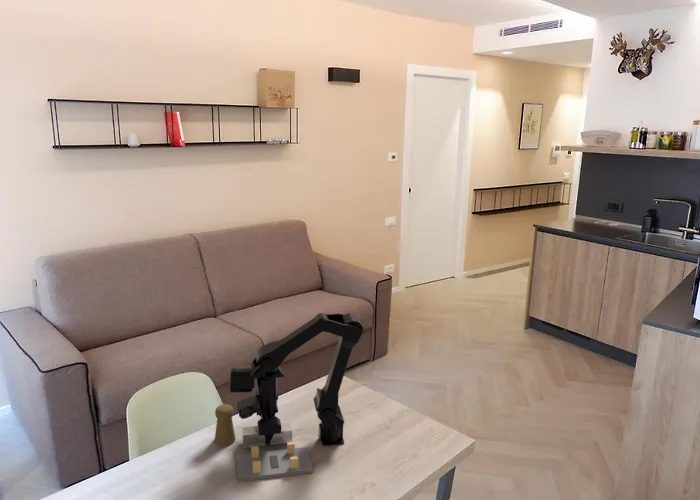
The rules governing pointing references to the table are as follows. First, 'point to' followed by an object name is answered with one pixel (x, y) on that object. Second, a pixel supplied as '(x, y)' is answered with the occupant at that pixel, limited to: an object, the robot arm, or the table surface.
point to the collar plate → (273, 463)
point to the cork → (224, 425)
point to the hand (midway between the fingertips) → (267, 437)
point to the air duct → (254, 439)
